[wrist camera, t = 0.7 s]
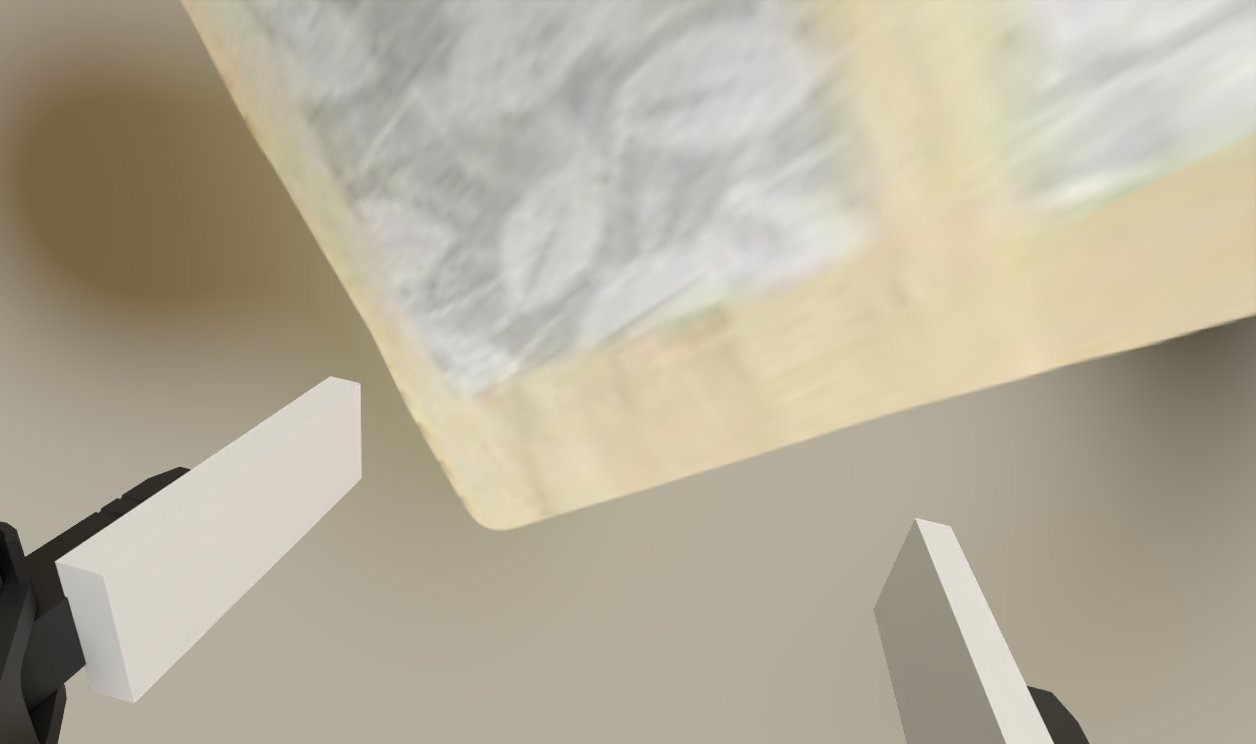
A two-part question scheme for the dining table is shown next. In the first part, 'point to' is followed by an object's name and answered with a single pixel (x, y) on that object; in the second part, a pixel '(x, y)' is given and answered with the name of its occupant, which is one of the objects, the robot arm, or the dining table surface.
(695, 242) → the dining table surface
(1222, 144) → the dining table surface
